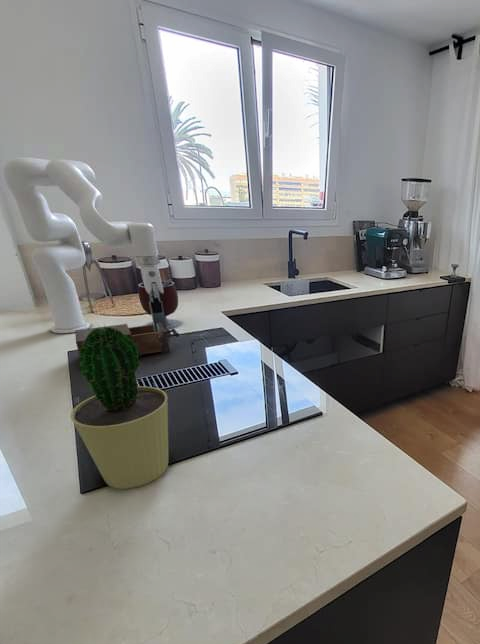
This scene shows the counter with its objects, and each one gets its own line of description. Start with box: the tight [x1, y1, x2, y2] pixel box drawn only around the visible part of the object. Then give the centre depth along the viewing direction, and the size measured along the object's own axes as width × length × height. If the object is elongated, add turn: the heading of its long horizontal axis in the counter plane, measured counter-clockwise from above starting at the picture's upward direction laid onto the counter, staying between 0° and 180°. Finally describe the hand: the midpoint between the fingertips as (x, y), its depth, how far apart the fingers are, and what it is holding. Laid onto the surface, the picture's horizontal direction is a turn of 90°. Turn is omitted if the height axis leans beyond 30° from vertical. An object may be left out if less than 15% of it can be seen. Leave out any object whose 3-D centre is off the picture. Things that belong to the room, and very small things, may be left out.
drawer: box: [128, 323, 180, 356], centre depth 134 cm, size 18×11×7 cm, turn 124°
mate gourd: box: [137, 278, 181, 330], centre depth 158 cm, size 16×14×20 cm
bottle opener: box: [149, 299, 172, 336], centre depth 145 cm, size 5×6×14 cm
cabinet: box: [74, 323, 132, 356], centre depth 127 cm, size 15×13×9 cm
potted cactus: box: [70, 324, 170, 490], centre depth 72 cm, size 15×15×30 cm
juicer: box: [81, 240, 115, 313], centre depth 177 cm, size 10×11×30 cm
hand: (157, 311), depth 144 cm, fingers closed on bottle opener
